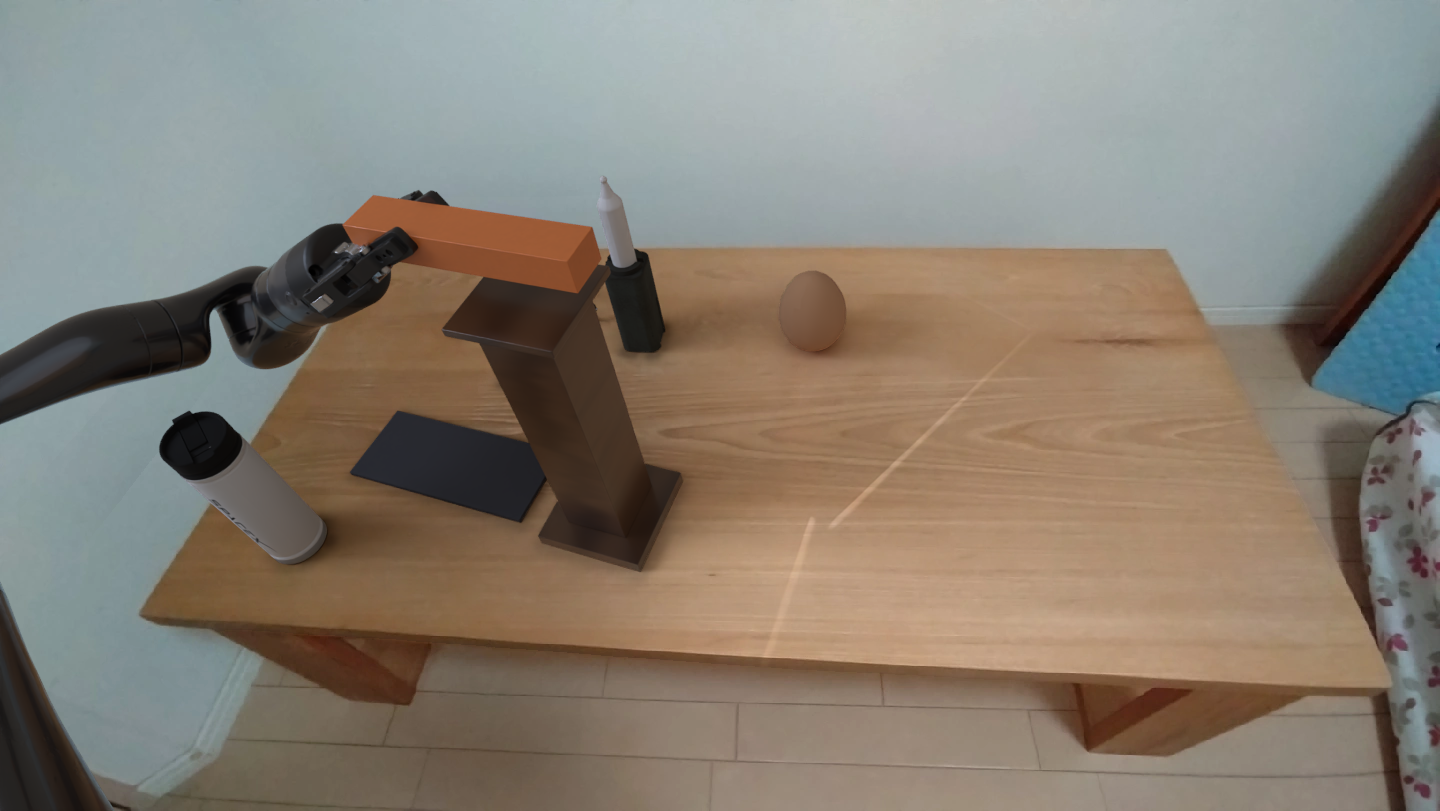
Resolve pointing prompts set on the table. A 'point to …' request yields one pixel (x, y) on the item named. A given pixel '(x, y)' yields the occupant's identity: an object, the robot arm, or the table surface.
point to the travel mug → (242, 486)
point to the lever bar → (483, 242)
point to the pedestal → (571, 415)
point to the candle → (629, 279)
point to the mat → (454, 465)
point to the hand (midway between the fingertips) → (423, 220)
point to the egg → (812, 311)
